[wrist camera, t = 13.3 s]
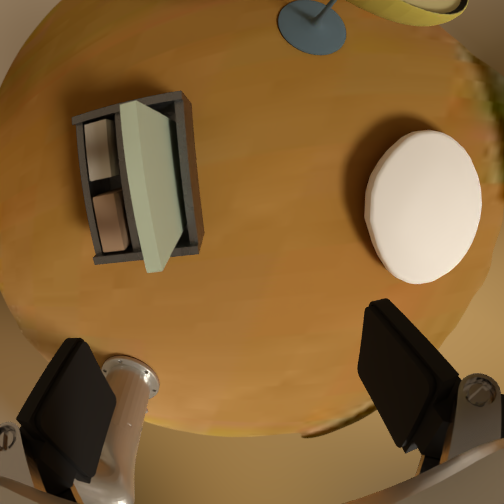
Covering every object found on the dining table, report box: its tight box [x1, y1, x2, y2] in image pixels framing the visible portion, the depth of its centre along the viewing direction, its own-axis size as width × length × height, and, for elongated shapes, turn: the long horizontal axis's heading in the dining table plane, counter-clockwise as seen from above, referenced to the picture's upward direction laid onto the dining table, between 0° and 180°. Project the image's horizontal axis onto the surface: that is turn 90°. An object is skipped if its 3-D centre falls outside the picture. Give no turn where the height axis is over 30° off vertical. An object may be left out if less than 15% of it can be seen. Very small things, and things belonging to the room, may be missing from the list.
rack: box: [72, 91, 204, 265], centre depth 33 cm, size 19×14×9 cm
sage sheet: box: [120, 101, 187, 273], centre depth 29 cm, size 14×1×18 cm, turn 6°
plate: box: [364, 130, 482, 284], centre depth 40 cm, size 28×6×27 cm
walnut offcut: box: [93, 187, 132, 252], centre depth 34 cm, size 7×3×8 cm, turn 4°
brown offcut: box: [84, 119, 120, 181], centre depth 31 cm, size 7×3×8 cm, turn 4°
